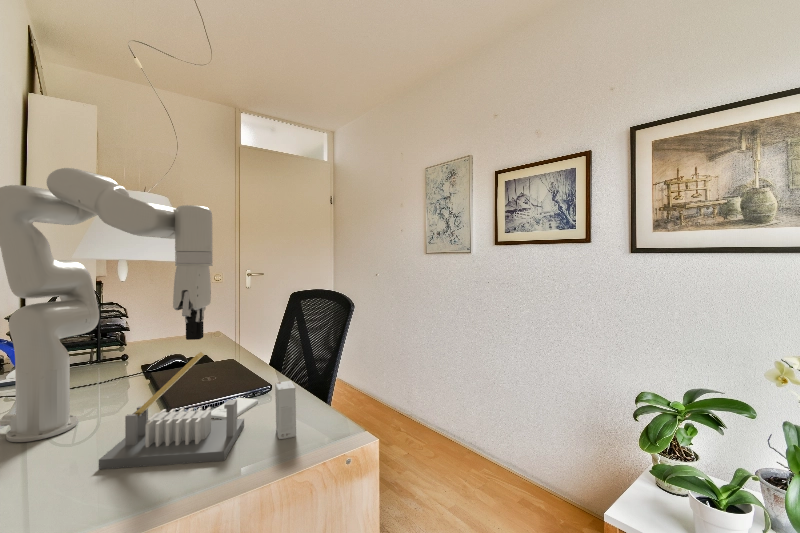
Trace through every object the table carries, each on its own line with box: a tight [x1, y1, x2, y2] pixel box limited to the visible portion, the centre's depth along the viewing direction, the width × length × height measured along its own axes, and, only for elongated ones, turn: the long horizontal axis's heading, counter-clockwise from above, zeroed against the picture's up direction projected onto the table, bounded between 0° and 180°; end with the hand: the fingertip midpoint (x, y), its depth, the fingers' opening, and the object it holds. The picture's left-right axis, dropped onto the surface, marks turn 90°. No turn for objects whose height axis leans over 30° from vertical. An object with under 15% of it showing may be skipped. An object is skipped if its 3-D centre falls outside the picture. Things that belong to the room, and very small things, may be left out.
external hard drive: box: [211, 397, 259, 420], centre depth 103 cm, size 2×8×12 cm
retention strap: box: [132, 351, 205, 419], centre depth 82 cm, size 20×3×2 cm
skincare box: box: [274, 380, 297, 440], centre depth 90 cm, size 6×4×12 cm
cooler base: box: [98, 399, 245, 470], centre depth 83 cm, size 24×16×10 cm, turn 99°
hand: (194, 338), depth 83 cm, fingers closed
